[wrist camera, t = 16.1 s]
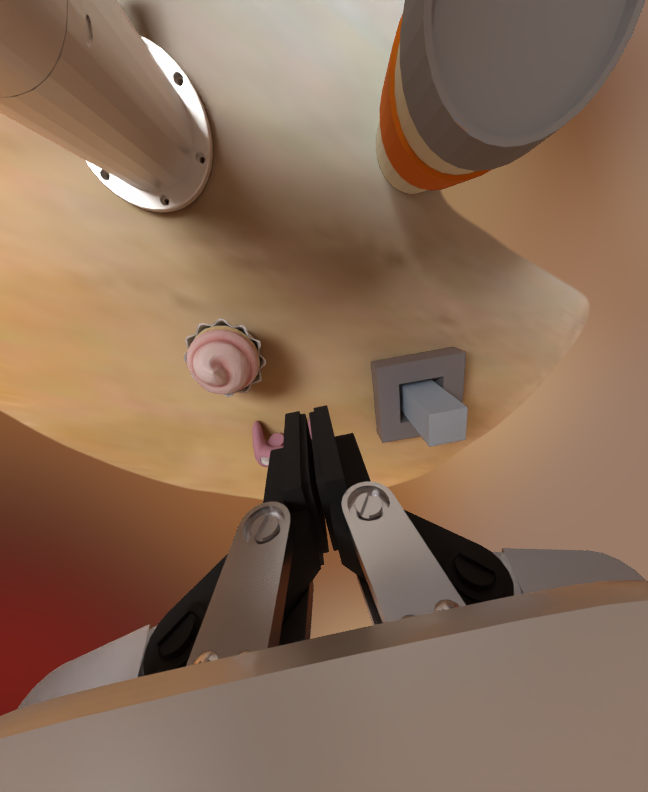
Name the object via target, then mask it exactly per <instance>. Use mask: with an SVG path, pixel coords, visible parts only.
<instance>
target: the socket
mask: <svg viewBox="0 0 648 792" xmlns="http://www.w3.org/2000/svg"><path fill="white" fill-rule="evenodd" d="M465 360H466V352H465V351H463V350H460V349H458V348H456V347H450V348H444V349H438V350H433V351H427V352H422V353H416V354H411V355H405V356H400V357H394V358H389V359H383V360H377V361H372V362H371V369H372V380H373V391H374V403H375V414H376V425H377V433H378V435H379V437H380V439H381V441H382V443H385V442H390V441H396V440H401V439H407V438H412V437H418V436H421V435H420V434H419V433H418V431H417V430H416V429H415V428H414V426H413V425H412V424H411V422H410V421H409V420H408V418H407V417H406V416H405V415H404V413H403V412H402V411H401V409H400V397H399V384H404V383H410V382H415V381H421V380H426V379H431V380H433V381H434V382H435V383H436V384H438V385H439V386H440V387H442V388H443V389H444V390H446V391H447V392H448V393H450V394H451V395H452V396H454V397H455V398H456V399H458V400H459V401H460V402H461V403H462V401H463V388H464V374H465Z"/></svg>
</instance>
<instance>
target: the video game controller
mask: <svg viewBox="0 0 648 792" xmlns="http://www.w3.org/2000/svg"><path fill="white" fill-rule="evenodd" d="M308 427H309V431H310V435H311V426H310V417H309V421H308ZM311 439H312V436H311ZM283 443H284V436H283V435H282V434H280V433H274V434H273V435H271V437H270V439H269V440H268V442H266V441H265V438H264V435H263V430H262V427H261V424H260V422H259V421H255V423H254V425H253V447H254V453H255V458H256V460H257V462H258V463H259V464H260V465H261V466H263V467H268V465H269V458H270V452H271V450H274V449H278V448H283Z"/></svg>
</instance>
